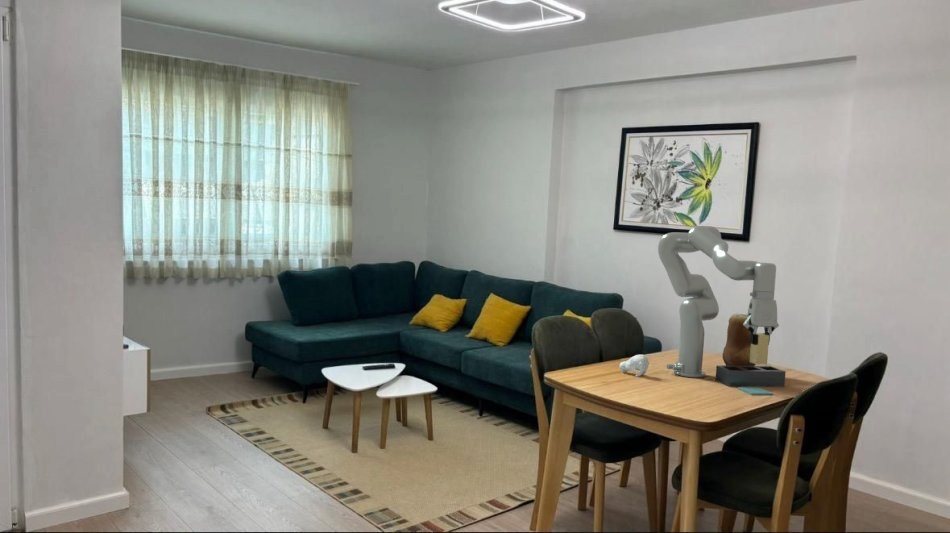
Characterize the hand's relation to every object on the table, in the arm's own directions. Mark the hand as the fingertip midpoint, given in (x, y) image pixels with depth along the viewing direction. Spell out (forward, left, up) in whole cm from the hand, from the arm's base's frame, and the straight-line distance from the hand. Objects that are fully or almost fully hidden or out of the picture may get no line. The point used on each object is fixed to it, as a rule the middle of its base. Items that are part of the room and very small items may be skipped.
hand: (759, 343), depth 270 cm
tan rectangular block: (0, 0, -7) cm, 7 cm away
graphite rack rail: (+6, +13, -18) cm, 23 cm away
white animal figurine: (-37, +28, -19) cm, 50 cm away
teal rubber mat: (0, 0, -18) cm, 18 cm away
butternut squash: (+12, +31, -19) cm, 38 cm away
